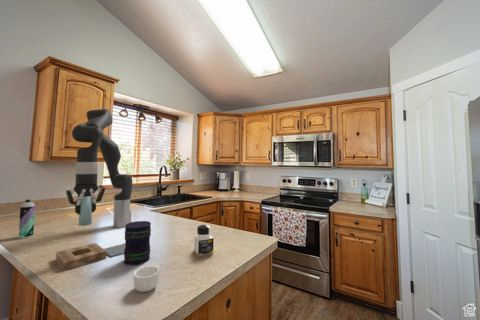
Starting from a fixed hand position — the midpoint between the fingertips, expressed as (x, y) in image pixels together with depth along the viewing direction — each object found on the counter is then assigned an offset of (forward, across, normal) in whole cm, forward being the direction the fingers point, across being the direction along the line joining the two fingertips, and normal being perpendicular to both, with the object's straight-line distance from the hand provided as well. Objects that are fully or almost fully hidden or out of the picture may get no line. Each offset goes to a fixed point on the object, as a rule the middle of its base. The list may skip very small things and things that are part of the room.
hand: (85, 212), depth 89 cm
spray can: (+19, +13, -53) cm, 58 cm away
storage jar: (+19, -14, +18) cm, 30 cm away
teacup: (+19, -8, +40) cm, 45 cm away
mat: (+19, -13, +2) cm, 23 cm away
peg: (+5, 0, 0) cm, 5 cm away
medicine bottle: (+19, -38, +32) cm, 53 cm away
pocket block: (+19, +1, 0) cm, 19 cm away
